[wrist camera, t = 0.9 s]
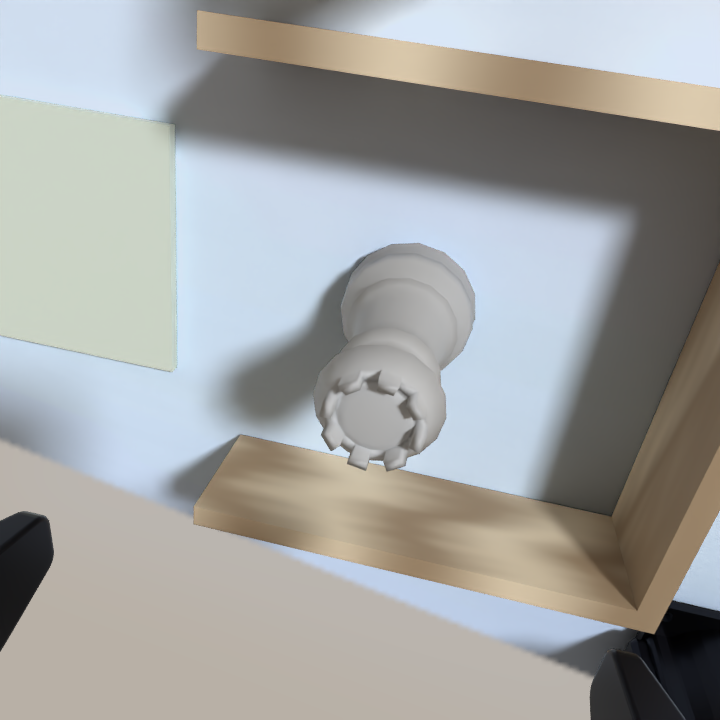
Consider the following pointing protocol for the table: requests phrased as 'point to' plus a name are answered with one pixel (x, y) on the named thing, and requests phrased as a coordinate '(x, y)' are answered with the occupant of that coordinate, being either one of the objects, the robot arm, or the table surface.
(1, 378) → the table surface
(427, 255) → the rook chess piece
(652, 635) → the robot arm
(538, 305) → the table surface
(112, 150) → the sage mat
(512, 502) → the open box
